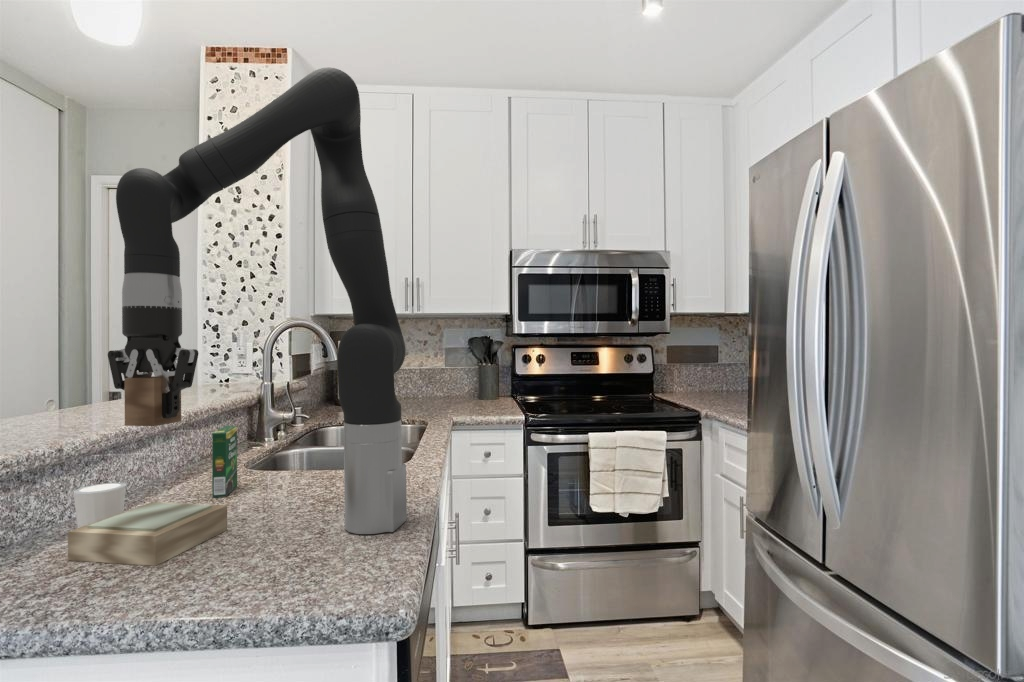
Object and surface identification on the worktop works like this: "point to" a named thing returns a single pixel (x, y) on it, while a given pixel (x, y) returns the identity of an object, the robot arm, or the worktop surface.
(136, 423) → the walnut block
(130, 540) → the plinth
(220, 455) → the coffee box
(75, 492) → the white cup
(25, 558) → the worktop surface
